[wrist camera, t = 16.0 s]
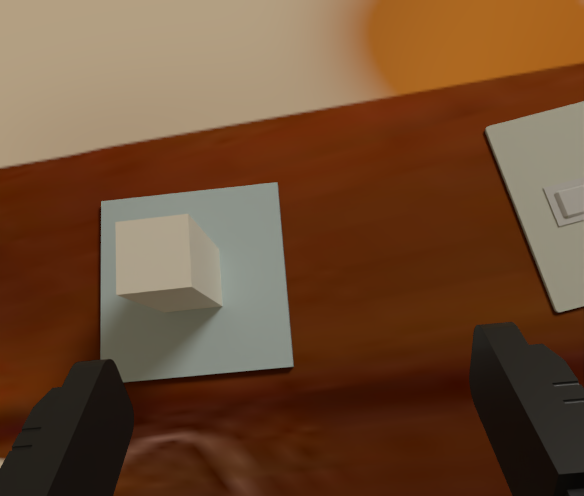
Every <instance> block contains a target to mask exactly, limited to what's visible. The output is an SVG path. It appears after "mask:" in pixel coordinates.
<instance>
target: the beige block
mask: <svg viewBox="0 0 584 496" xmlns="http://www.w3.org/2000/svg"><path fill="white" fill-rule="evenodd" d="M115 229H116V295H118V296H120V297H123V298H126V299H129V300H131V301H134V302H137V303H139V304H142V305H145V306H148V307H150V308H153V309H156V310H159V311H161V312H164V313H165V312H175V311H184V310H193V309H203V308H212V307H221V306H223V304H222V288H221V272H220V257H219V248H218V247H217V246H216V245H215V244H214V243H213V242H212V240H211V239H210V238H209V237H208V236H207V235H206V234H205V232H204V231H203V230H202V229H201V228H200V227H199V226H198V224H197V223H196V222H195V221H194V220H193V219H192V218H191V216H190V215H189V214H181V215H172V216H164V217H155V218H146V219H138V220H129V221H120V222H115Z"/></svg>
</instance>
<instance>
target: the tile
mask: <svg viewBox="0 0 584 496" xmlns="http://www.w3.org/2000/svg"><path fill="white" fill-rule="evenodd" d="M181 214H189V215H190V216H191V218H192V219H193V220H194V221H195V222H196V223H197V224H198V226H199V227H200V228H201V229H202V230H203V231H204V232H205V234H206V235H207V236H208V237H209V238H210V239H211V240H212V242H213V243H214V244H215V245H216V246H217V247H218V248H219V257H220V272H221V288H222V304H223V306H221V307H212V308H203V309H193V310H184V311H175V312H165V313H164V312H161V311H159V310H156V309H153V308H150V307H148V306H145V305H142V304H139V303H137V302H134V301H131V300H129V299H126V298H123V297H120V296H118V295H116V229H115V222H120V221H129V220H138V219H146V218H155V217H164V216H172V215H181ZM103 359H112V360H113V361H114V362H115V364H116V366H117V368H118V371H119V373H120V376H121V379H122V381H123V382H134V381H144V380H155V379H166V378H177V377H188V376H198V375H209V374H220V373H231V372H242V371H252V370H263V369H274V368H285V367H294V363H293V352H292V341H291V329H290V318H289V306H288V295H287V283H286V272H285V261H284V249H283V238H282V226H281V215H280V204H279V192H278V183H277V182H276V183H266V184H257V185H248V186H239V187H230V188H220V189H211V190H202V191H193V192H184V193H174V194H165V195H156V196H147V197H138V198H128V199H119V200H110V201H101V350H100V360H103Z"/></svg>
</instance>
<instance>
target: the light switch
mask: <svg viewBox="0 0 584 496" xmlns="http://www.w3.org/2000/svg"><path fill="white" fill-rule="evenodd" d="M485 134H486V136H487V139H488V141H489V144H490V147H491V149H492V152H493V154H494V157H495V159H496V162H497V165H498V167H499V170H500V172H501V175H502V177H503V180H504V183H505V185H506V188H507V190H508V193H509V195H510V198H511V201H512V203H513V206H514V208H515V211H516V213H517V216H518V219H519V221H520V224H521V226H522V229H523V232H524V234H525V237H526V239H527V242H528V244H529V247H530V250H531V252H532V255H533V257H534V260H535V262H536V265H537V268H538V270H539V273H540V275H541V278H542V280H543V283H544V286H545V288H546V291H547V293H548V296H549V298H550V301H551V304H552V306H553V309H554V311H555V312H557V313H559V312H563V311H567V310H571V309H575V308H578V307H582V306H584V101H583V102H579V103H576V104H572V105H568V106H564V107H560V108H557V109H553V110H549V111H545V112H541V113H537V114H534V115H530V116H526V117H522V118H518V119H515V120H511V121H507V122H503V123H499V124H496V125H492V126H488V127H487V128H486V129H485Z"/></svg>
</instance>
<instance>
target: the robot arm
mask: <svg viewBox="0 0 584 496" xmlns="http://www.w3.org/2000/svg"><path fill="white" fill-rule="evenodd" d="M469 380H470V389H471V395H472V399H473V402H474V405H475V407H476V410H477V412H478V414H479V417H480V419H481V422H482V424H483V426H484V429H485V431H486V433H487V436H488V438H489V441H490V443H491V445H492V448H493V450H494V452H495V455H496V457H497V460H498V462H499V464H500V467H501V469H502V472H503V474H504V476H505V479H506V481H507V483H508V486H509V488H510V491H511V493H512V495H513V496H584V388H583V387H582V385H579V383H578V379H577V378H576V376H575V375H574V374H573V372H572V371H571V369H570V368H569V366H568V365H567V363H566V362H565V360H563V359H562V358H561V357H559V356H558V355H557V354H555V353H554V352H553V351H551V350H550V349H549V348H547V347H546V346H545V345H543V344H535V345H528V343H527V342H526V340H525V338H524V337H523V335H522V334H521V332H520V330H519V329H518V327H517V326H516V325H515V324H514V323H513V322H506V323H495V324H485V325H477V326H476V327H475V329H474V335H473V345H472V355H471V365H470V376H469ZM133 426H134V413H133V407H132V404H131V401H130V399H129V396H128V394H127V391H126V389H125V386H124V384H123V381H122V379H121V376H120V373H119V371H118V368H117V366H116V364H115V362H114V361H113V360H112V359H103V360H93V361H82V362H76V363H75V364H74V365H73V366H72V368H71V370H70V372H69V374H68V376H67V378H66V380H65V382H64V384H63V386H62V387H58V388H52V389H51V390H50V391H49V392H48V393H47V394H46V395H45V396H44V397H43V398H42V399H41V400H40V401H39V402H38V403H37V404H36V405H35V406H34V407H33V409H32V411H31V413H30V414H29V416H28V418H27V420H26V422H25V424H24V426H23V427H22V433H19V435H18V437H17V438H16V440H15V442H14V444H13V446H12V451H9V453H8V455H7V457H6V459H5V460H4V462H3V464H2V466H1V468H0V496H113V494H114V491H115V487H116V484H117V481H118V478H119V475H120V471H121V468H122V465H123V462H124V458H125V455H126V452H127V449H128V446H129V442H130V439H131V436H132V432H133Z"/></svg>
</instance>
